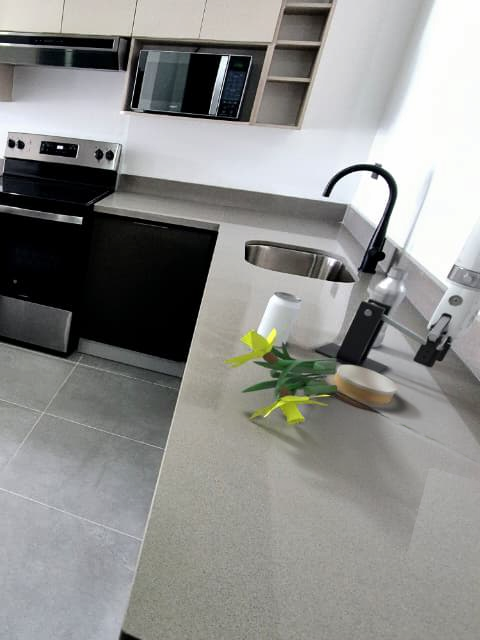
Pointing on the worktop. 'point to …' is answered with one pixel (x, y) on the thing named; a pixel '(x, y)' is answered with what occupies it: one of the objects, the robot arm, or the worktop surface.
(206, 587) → the worktop surface
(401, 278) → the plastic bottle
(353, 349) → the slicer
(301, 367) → the daffodil flowers
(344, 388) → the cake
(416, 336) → the lever
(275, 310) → the can
